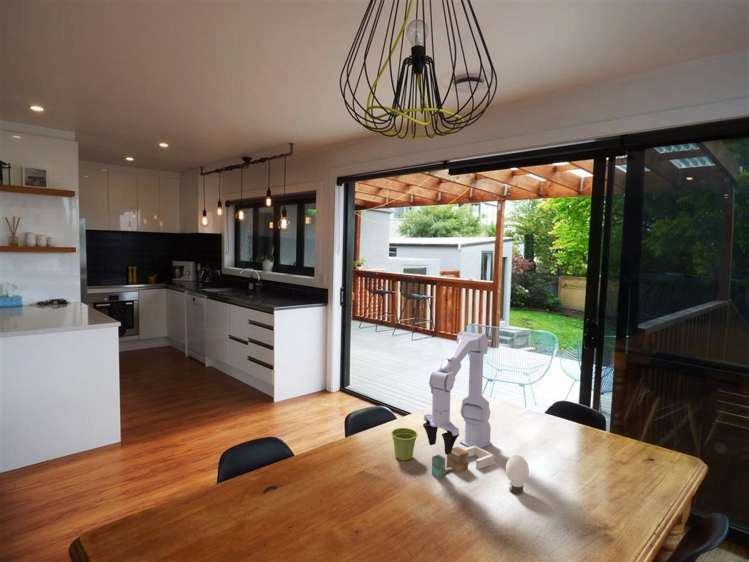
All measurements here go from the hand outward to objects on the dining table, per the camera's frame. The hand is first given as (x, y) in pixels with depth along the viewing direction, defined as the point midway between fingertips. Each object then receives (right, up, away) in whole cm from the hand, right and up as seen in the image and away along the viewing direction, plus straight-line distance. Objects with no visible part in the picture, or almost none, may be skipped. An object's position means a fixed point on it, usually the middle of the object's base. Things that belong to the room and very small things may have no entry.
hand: (440, 448), depth 144 cm
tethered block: (+3, -9, +3) cm, 10 cm away
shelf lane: (+14, -8, +10) cm, 19 cm away
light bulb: (+22, -10, -9) cm, 26 cm away
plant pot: (-11, -8, +13) cm, 18 cm away
